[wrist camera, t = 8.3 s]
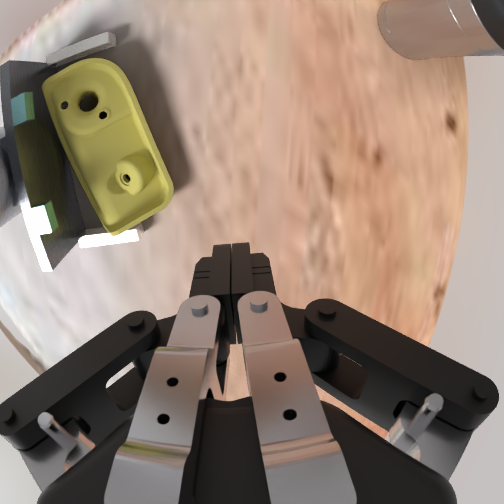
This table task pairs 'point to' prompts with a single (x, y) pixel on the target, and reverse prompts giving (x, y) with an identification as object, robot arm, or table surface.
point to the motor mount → (44, 160)
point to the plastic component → (108, 143)
